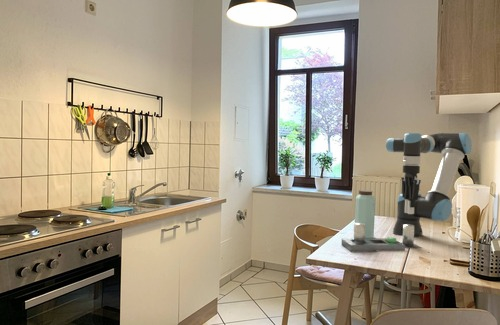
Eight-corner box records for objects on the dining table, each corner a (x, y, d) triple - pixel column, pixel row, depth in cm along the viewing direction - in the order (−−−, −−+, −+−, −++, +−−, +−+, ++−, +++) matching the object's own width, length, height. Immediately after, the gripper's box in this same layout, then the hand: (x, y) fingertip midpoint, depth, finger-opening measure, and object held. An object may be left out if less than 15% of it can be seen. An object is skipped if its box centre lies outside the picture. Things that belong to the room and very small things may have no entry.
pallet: (392, 244, 181) (392, 238, 181) (404, 251, 169) (405, 245, 169) (341, 244, 178) (341, 238, 178) (350, 251, 166) (351, 245, 166)
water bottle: (374, 240, 187) (377, 192, 186) (354, 239, 189) (356, 191, 188) (372, 236, 197) (374, 190, 196) (353, 234, 199) (355, 189, 198)
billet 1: (361, 243, 176) (362, 222, 175) (366, 246, 171) (366, 225, 170) (351, 243, 175) (352, 222, 175) (355, 246, 170) (356, 225, 170)
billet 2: (409, 244, 180) (410, 224, 180) (415, 246, 175) (416, 226, 175) (400, 244, 180) (401, 224, 179) (405, 246, 175) (406, 226, 175)
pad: (411, 243, 183) (411, 242, 183) (423, 249, 173) (423, 248, 173) (392, 243, 182) (393, 242, 182) (403, 249, 172) (403, 248, 172)
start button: (393, 241, 177) (393, 237, 177) (397, 244, 173) (398, 239, 173) (385, 241, 176) (385, 237, 176) (389, 244, 172) (389, 239, 172)
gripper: (396, 164, 183) (393, 210, 184) (412, 165, 168) (410, 216, 169) (410, 164, 184) (408, 210, 185) (428, 166, 169) (425, 216, 170)
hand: (409, 213), depth 177 cm, fingers open, 2 cm apart
